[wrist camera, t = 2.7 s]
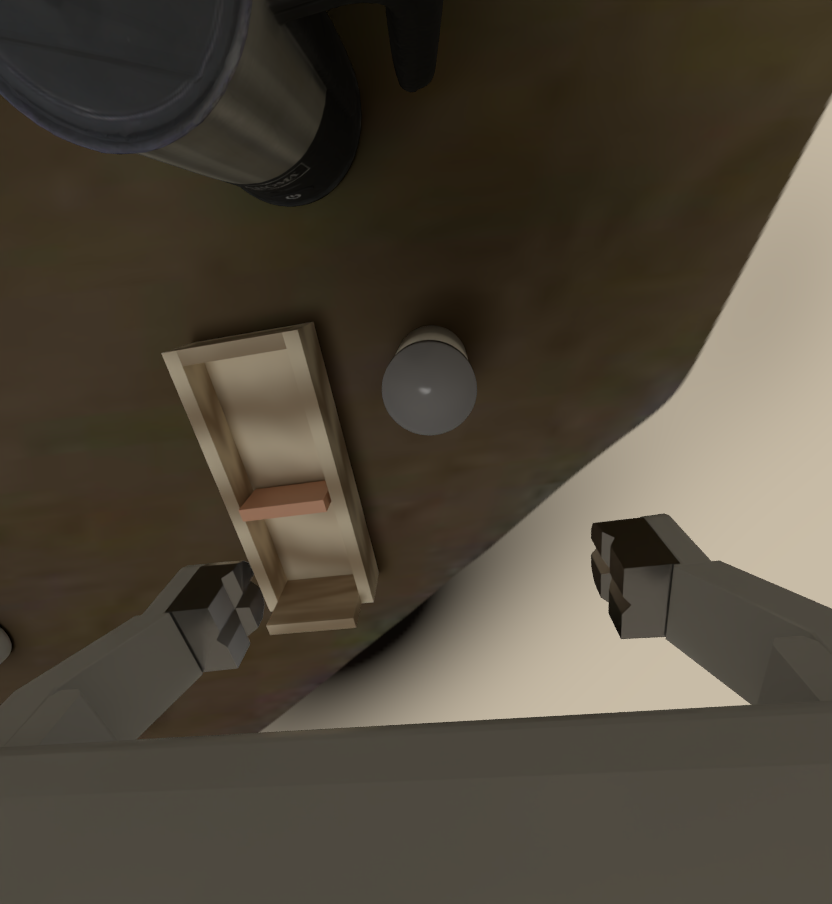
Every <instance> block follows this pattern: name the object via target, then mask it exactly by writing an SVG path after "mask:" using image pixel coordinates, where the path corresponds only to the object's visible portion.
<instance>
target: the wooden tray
mask: <svg viewBox="0 0 832 904" xmlns="http://www.w3.org/2000/svg"><path fill="white" fill-rule="evenodd" d="M162 356H163V358H164V361H165V363H166V365H167V368H168V370H169V373H170V375H171V377H172V380H173V382H174V384H175V387H176V389H177V392H178V394H179V396H180V399H181V401H182V403H183V406H184V408H185V411H186V413H187V415H188V418H189V420H190V422H191V425H192V427H193V430H194V432H195V434H196V437H197V439H198V441H199V444H200V446H201V449H202V451H203V453H204V456H205V458H206V460H207V463H208V465H209V468H210V470H211V472H212V475H213V477H214V479H215V482H216V484H217V487H218V489H219V491H220V494H221V496H222V498H223V501H224V503H225V506H226V508H227V510H228V513H229V515H230V517H231V520H232V522H233V525H234V527H235V529H236V532H237V534H238V536H239V539H240V541H241V544H242V546H243V548H244V551H245V553H246V555H247V558H248V560H249V563H250V565H251V567H252V570H253V572H254V575H255V577H256V579H257V582H258V584H259V586H260V589H261V591H262V594H263V596H264V598H265V601H266V603H267V605H268V608H269V610H270V611H273V613H272V615H271V617H270V619H269V621H268V623H267V625H266V626H267V628H268V631H269V633H270V635H275V634H287V633H299V632H310V631H322V630H334V629H346V628H356V626H357V622H358V617H359V613H360V608H361V604H362V603H370V602H374V597H375V591H376V586H377V581H378V576H379V571H378V567H377V563H376V559H375V556H374V552H373V548H372V544H371V540H370V536H369V533H368V529H367V525H366V521H365V517H364V513H363V510H362V506H361V502H360V498H359V494H358V491H357V487H356V483H355V479H354V475H353V471H352V468H351V464H350V460H349V456H348V452H347V448H346V445H345V441H344V437H343V433H342V429H341V425H340V422H339V418H338V414H337V410H336V406H335V402H334V399H333V395H332V391H331V387H330V383H329V380H328V376H327V372H326V368H325V364H324V360H323V357H322V353H321V349H320V345H319V341H318V337H317V334H316V330H315V326H314V322H309V323H303V324H297V325H292V326H286V327H280V328H274V329H269V330H263V331H257V332H251V333H246V334H240V335H234V336H228V337H223V338H217V339H211V340H205V341H200V342H194V343H190V344H187V345H184V346H181V347H178V348H175V349H172V350H169V351H166V352H163V353H162ZM317 481H326V484H327V487H328V491H329V494H330V498H331V503H330V506H329V508H328V510H327V512H321V513H313V514H304V515H296V516H288V517H279V518H271V519H262V520H254V521H245V522H243V520H242V518H241V516H240V513H239V511H238V510H239V509H240V508H241V506H242V505H243V504H244V503H245V501H246V500H247V499H248V498H249V496H250V495H251V494H252V493H253V491H254V490H255V489H262V488H270V487H278V486H286V485H294V484H301V483H309V482H317Z"/></svg>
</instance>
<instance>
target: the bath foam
mask: <svg viewBox="0 0 832 904" xmlns="http://www.w3.org/2000/svg"><path fill="white" fill-rule="evenodd" d="M11 649H12V644H11V641H10V638H9V637H8V635H7V634H6V632H5V631H4V630H3V629H2V628H1V627H0V664H1V663H2V662H3V661H4V660H5V659H6V658H7V657H8V656H9V654H10V652H11Z"/></svg>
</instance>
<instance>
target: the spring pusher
mask: <svg viewBox="0 0 832 904" xmlns="http://www.w3.org/2000/svg"><path fill="white" fill-rule="evenodd" d="M330 503H331V498H330V494H329V491H328V487H327V484H326V481H317V482H309V483H301V484H294V485H286V486H278V487H270V488H262V489H255V490H254V491H253V493H252V494H251V495H250V496H249V498H248V499H247V500H246V501H245V503H244V504H243V505H242V506H241V508H240V509H239V510H238V511H239V513H240V516H241V518H242V520H243V522H245V521H254V520H262V519H271V518H279V517H288V516H296V515H304V514H313V513H321V512H327V510H328V508H329V506H330Z"/></svg>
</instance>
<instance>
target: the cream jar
mask: <svg viewBox="0 0 832 904" xmlns="http://www.w3.org/2000/svg"><path fill="white" fill-rule="evenodd" d="M476 395H477V383H476V378H475V375H474V372H473V369H472V366H471V364H470V362H469V361H468V357H467V354H466V350H465V347H464V345H463V343H462V342H461V340H460V339H459V338H458V337H457V336H456V335H455V334H454V333H453V332H451V331H450V330H448V329H446V328H443V327H440V326H431V325H430V326H423V327H420V328H417V329H415V330H413V331H412V332H410V333H409V334H408V335H407V336H406V337H405V338H404V339H403V340H402V342H401V344H400V345H399V347H398V350H397V352H396V354H395V356H394V357H393V358H392V360H391V362H390V363H389V365H388V367H387V369H386V372H385V374H384V377H383V382H382V396H383V401H384V404H385V407H386V409H387V411H388V413H389V414H390V416H391V417H392V418H393V419H394V420H395V421H396V422H397V423H398V424H399V425H400V426H402V427H403V428H405V429H407V430H409V431H411V432H413V433H417V434H421V435H438V434H442V433H445V432H448V431H450V430H452V429H454V428H456V427H457V426H459V425H460V424H461V423H462V422H463V421H464V420H465V419H466V418H467V417H468V415H469V414H470V412H471V410H472V409H473V406H474V404H475V400H476Z"/></svg>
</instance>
